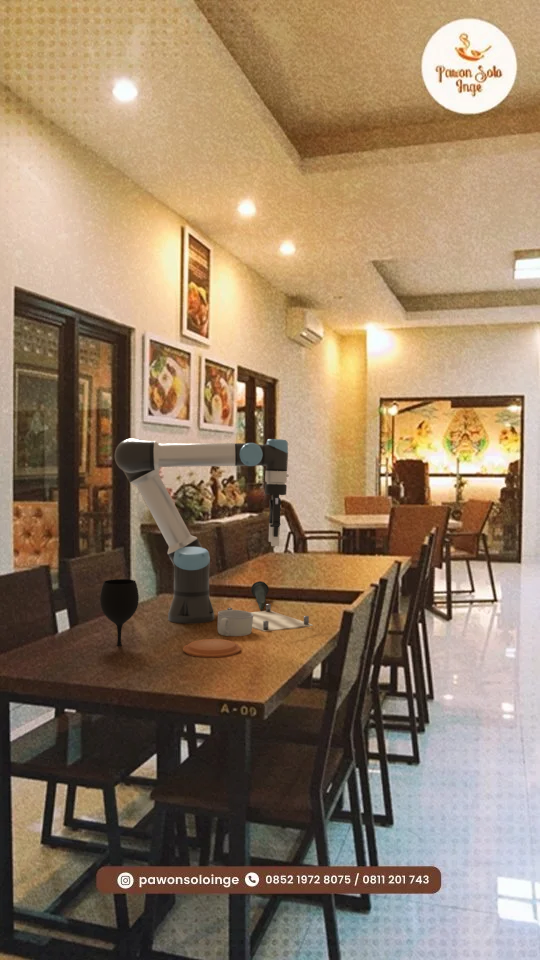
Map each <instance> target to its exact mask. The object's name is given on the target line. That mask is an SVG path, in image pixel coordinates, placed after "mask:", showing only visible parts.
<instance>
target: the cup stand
mask: <svg viewBox="0 0 540 960" xmlns="http://www.w3.org/2000/svg"><path fill="white" fill-rule="evenodd" d="M271 605H272V604H271V603H265V610H260V611H253V612H252V611H251V612H250V613H252V614H253V615H254V616H253V624H252V629H255V630H258V631H261V632H264V633H265V632H272V631H280V630H281V631H282V630H294V629H302V628H305V627H310V626H313V627H314V625H313V624H312V623H309V622H310V616H309V615H304V616H303V621H302V620H300V619H297V618H295V617H291V616H288V615H285V614H282V613H279V612H275V611H273V610H271V608H272V607H271ZM226 610H233V607H227V608H226Z"/></svg>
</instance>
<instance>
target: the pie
mask: <svg viewBox="0 0 540 960" xmlns="http://www.w3.org/2000/svg"><path fill="white" fill-rule="evenodd" d="M182 649H183V650H182V651H183V652H184V653H185V655H188V656H192V657H199V658H223V657H230V656H235V655H237V654H239V653H240V651H241V649H242V647H241V646H240V645H239V644H238V643H235V642H234V641H232V640H228V639H220V638H208V639H206V638H204V639H197V640H193V641H191V642H189V643H188V644H186V645H183V647H182Z"/></svg>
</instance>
